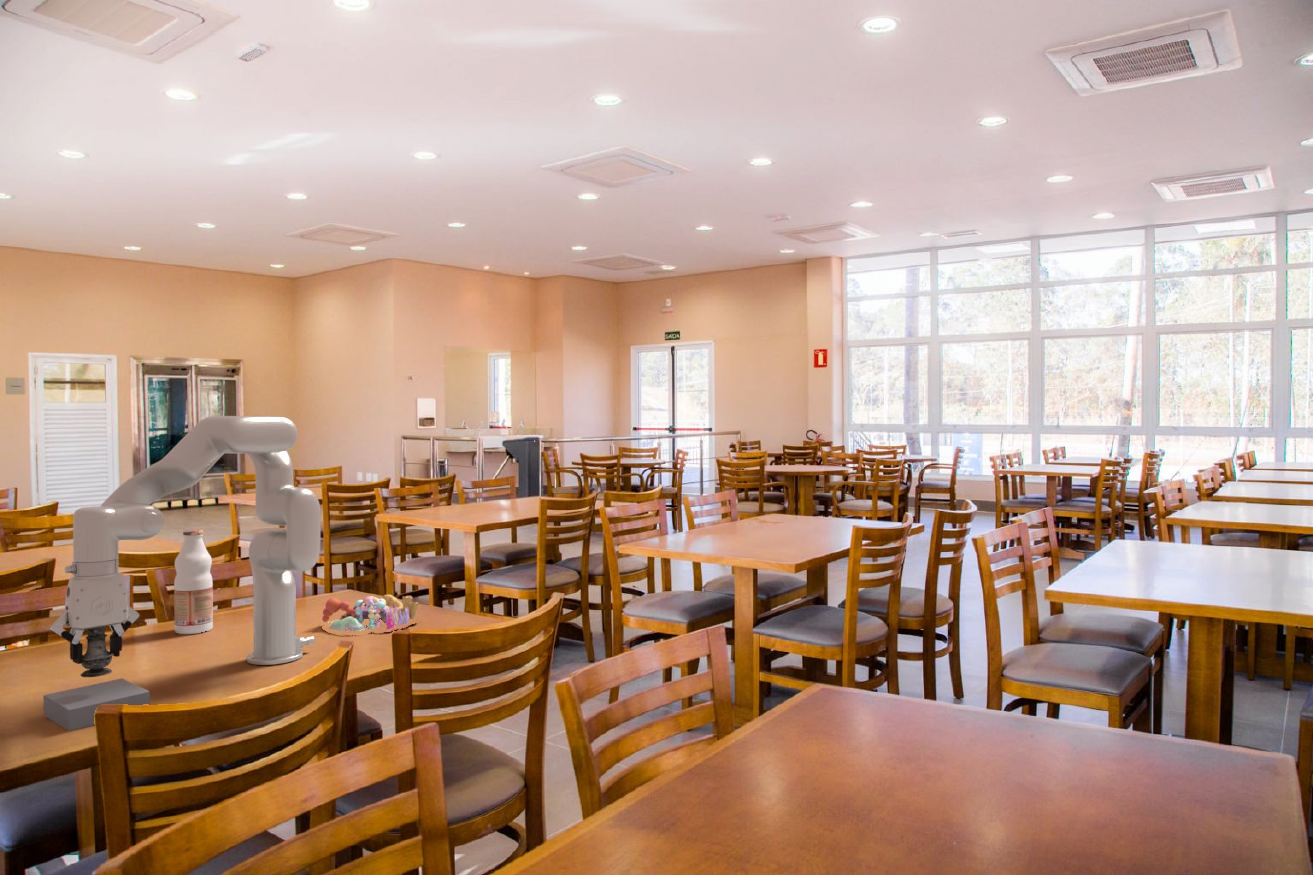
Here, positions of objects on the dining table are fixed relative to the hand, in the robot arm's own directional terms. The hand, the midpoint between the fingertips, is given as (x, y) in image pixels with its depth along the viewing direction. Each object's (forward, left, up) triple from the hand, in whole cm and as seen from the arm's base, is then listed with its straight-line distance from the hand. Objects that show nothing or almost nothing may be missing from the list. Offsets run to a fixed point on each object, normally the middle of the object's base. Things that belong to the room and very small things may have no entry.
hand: (96, 658), depth 169 cm
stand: (0, 0, -11) cm, 11 cm away
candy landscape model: (-76, -21, -12) cm, 80 cm away
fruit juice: (-42, -54, -11) cm, 69 cm away
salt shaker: (0, 0, -3) cm, 3 cm away
